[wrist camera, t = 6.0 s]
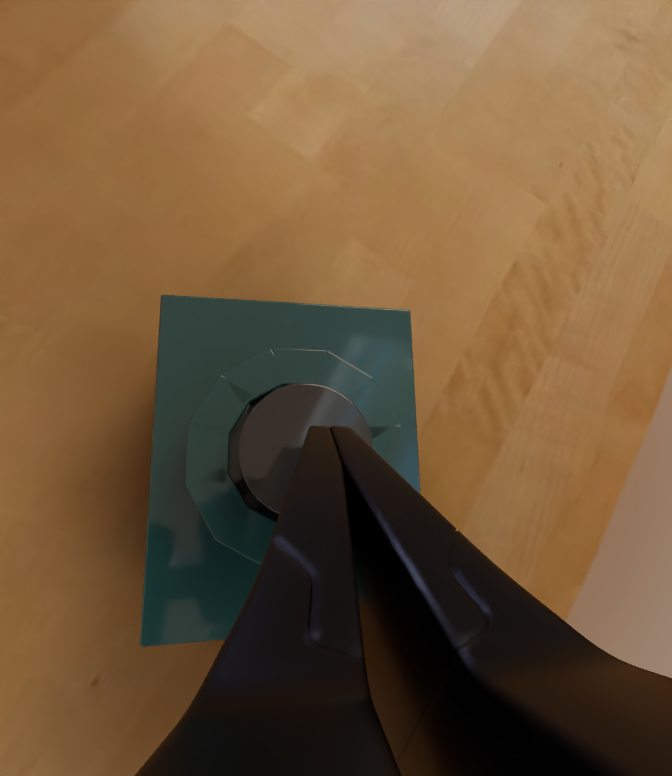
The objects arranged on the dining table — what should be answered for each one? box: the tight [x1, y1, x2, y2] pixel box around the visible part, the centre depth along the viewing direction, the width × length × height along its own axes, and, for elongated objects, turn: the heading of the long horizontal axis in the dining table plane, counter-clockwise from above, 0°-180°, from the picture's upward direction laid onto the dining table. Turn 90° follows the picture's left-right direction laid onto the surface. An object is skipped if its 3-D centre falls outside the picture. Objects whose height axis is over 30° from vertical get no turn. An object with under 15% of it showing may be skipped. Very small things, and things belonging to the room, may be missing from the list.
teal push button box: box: [140, 295, 420, 647], centre depth 18 cm, size 11×9×9 cm
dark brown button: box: [238, 383, 373, 514], centre depth 13 cm, size 4×4×2 cm
